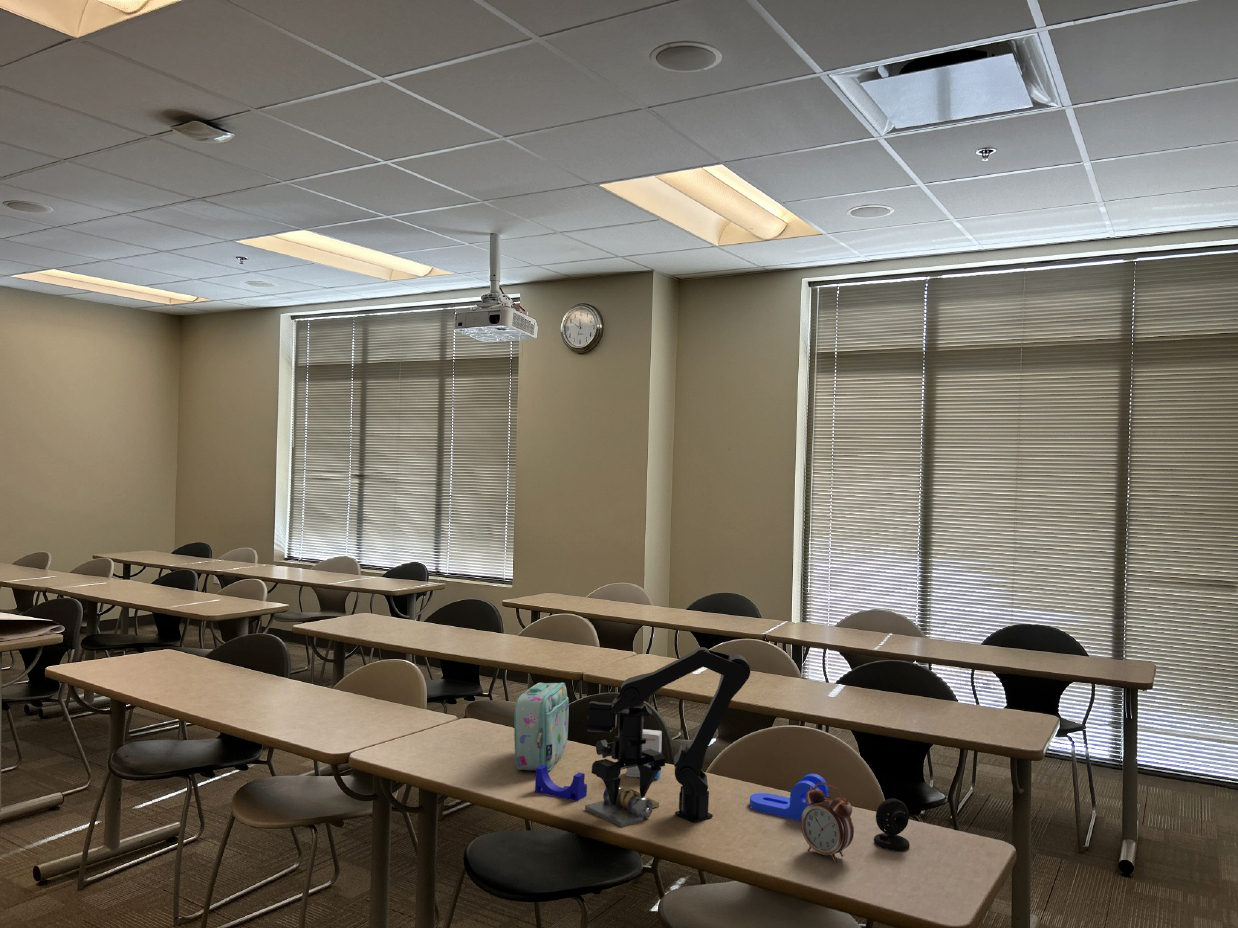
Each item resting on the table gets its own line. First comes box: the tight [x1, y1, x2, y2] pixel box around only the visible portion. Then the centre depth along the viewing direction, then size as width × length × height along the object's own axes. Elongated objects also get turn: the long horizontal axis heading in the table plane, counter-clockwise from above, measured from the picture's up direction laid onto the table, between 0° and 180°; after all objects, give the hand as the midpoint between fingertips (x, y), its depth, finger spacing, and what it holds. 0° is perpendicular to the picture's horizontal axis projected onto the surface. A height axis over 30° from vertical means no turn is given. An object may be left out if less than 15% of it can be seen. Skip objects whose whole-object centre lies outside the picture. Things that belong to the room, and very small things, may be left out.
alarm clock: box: [800, 782, 855, 863], centre depth 184 cm, size 11×5×15 cm, turn 45°
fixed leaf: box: [584, 786, 654, 828], centre depth 203 cm, size 14×10×4 cm
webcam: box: [873, 798, 911, 852], centre depth 192 cm, size 8×8×10 cm
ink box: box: [625, 728, 663, 781], centre depth 231 cm, size 9×5×12 cm, turn 76°
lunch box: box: [513, 682, 569, 772], centre depth 239 cm, size 27×10×21 cm, turn 171°
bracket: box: [749, 773, 830, 822], centre depth 210 cm, size 18×8×9 cm, turn 62°
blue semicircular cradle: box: [534, 765, 588, 802], centre depth 215 cm, size 12×4×6 cm, turn 64°
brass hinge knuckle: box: [616, 786, 660, 810], centre depth 207 cm, size 4×10×4 cm, turn 131°
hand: (627, 800), depth 205 cm, fingers open, 9 cm apart
